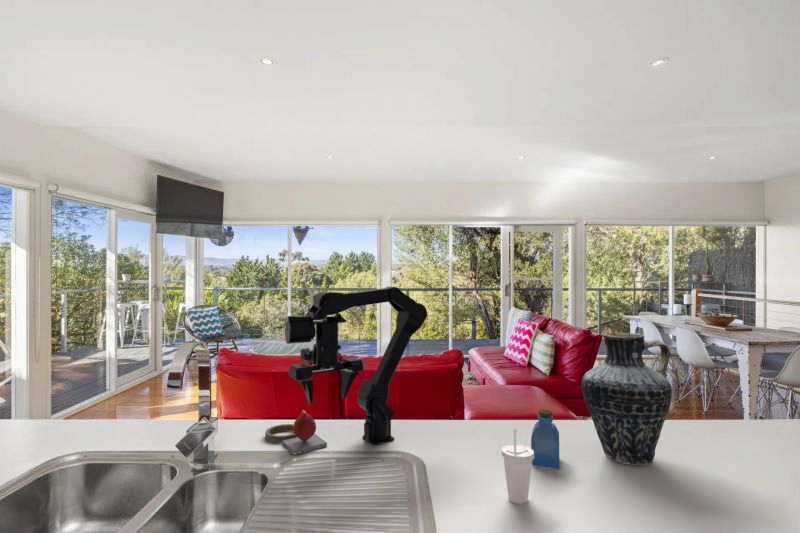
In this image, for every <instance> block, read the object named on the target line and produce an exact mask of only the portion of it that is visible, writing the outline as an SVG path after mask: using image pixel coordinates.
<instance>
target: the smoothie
mask: <svg viewBox="0 0 800 533" xmlns="http://www.w3.org/2000/svg"><path fill="white" fill-rule="evenodd" d="M501 456H502V457H503V464H504V465H503V466H504V472H505V473H504V474H505V480H506V490H507V496H508V500H509V501H510V502H511V503H514V504H519V505H523V504H526V503H527V502H528V501H529V500H528V499H529V491H530V483H531V475H532V469H533V468H532V467H533V465H532V460H533V459H534V451H533V450H532V449H531V447H530V446H526V445H522V444H517V428H516V427H514V428H513V444H507V445H504V446H502V448H501Z"/></svg>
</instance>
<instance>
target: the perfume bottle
mask: <svg viewBox="0 0 800 533" xmlns="http://www.w3.org/2000/svg"><path fill="white" fill-rule="evenodd" d="M552 414H553V411H552V410H551V409H547V408H542V409H538V414H537V421H536V423H535V424H534V427H533V428H532V431H531V436H530V443H531V444H530V448H531V449H532V450H533V451H534V459H533V460H532V466H535V467H543V468H550V469H557V470H560V432H559V430H558V428H557V426H556V424H555V423H554V422H553V421H554V417H553V415H552Z"/></svg>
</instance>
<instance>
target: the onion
mask: <svg viewBox="0 0 800 533" xmlns="http://www.w3.org/2000/svg"><path fill="white" fill-rule="evenodd" d="M293 422H294V423H293V424H294V426H293V431H292V432H293V434H295V435H296V436H297V437H298V438H299V439H300V440H301V441H303V442H305V441H307V440H308V439H310V438H311V437H312V436H313V435H314V434H316V431H317V424H316V420H315V419H314V418H313V417H312V415H311V414H308V413H307V412H306V411H305V410H302V411H301V414H300V415H299V416H298V417H297V418H296V419H295V421H293Z"/></svg>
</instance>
